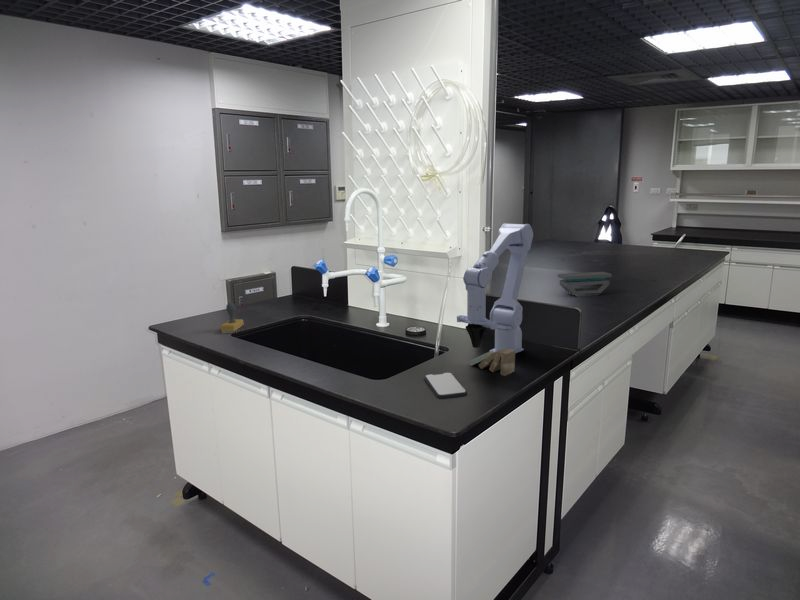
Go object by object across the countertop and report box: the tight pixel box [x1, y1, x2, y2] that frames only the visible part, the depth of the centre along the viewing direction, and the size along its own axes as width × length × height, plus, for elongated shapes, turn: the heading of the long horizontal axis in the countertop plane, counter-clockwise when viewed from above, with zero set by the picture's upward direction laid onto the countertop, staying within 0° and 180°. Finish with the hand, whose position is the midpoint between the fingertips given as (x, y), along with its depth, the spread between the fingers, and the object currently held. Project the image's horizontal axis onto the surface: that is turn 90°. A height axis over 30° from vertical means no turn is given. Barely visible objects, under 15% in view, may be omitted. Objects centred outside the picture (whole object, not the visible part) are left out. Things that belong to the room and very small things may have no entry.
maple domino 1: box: [478, 350, 501, 370], centre depth 164 cm, size 2×5×7 cm
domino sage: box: [468, 350, 494, 367], centre depth 167 cm, size 2×5×7 cm
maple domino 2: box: [488, 348, 509, 373], centre depth 162 cm, size 2×5×7 cm, turn 134°
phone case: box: [423, 372, 468, 399], centre depth 151 cm, size 9×2×16 cm
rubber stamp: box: [220, 302, 245, 332], centre depth 217 cm, size 10×6×12 cm, turn 175°
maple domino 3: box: [500, 349, 516, 377], centre depth 160 cm, size 2×5×7 cm, turn 134°
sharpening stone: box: [557, 271, 613, 294], centre depth 267 cm, size 25×8×11 cm, turn 98°
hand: (476, 346), depth 168 cm, fingers closed
